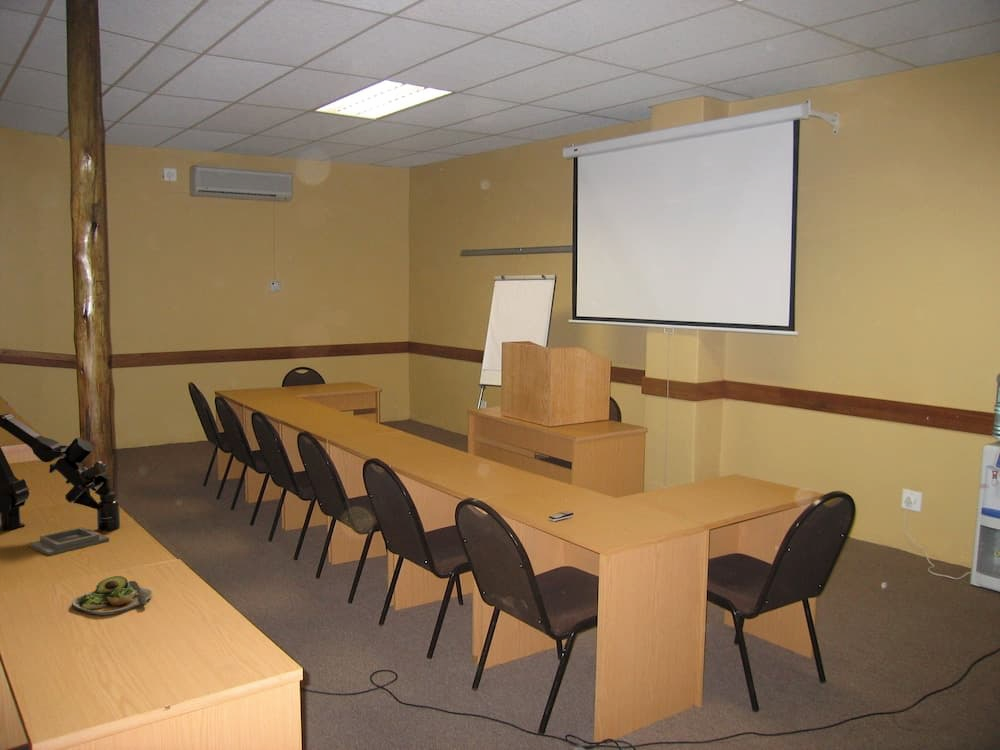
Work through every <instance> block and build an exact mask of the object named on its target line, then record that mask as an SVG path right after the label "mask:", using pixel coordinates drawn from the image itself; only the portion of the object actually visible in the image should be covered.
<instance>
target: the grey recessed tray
mask: <svg viewBox="0 0 1000 750" xmlns="http://www.w3.org/2000/svg"><path fill="white" fill-rule="evenodd" d="M106 542H110V537H108V536H106V535H104V534H101V532H97V531H94V530H92V529H87V528H84V527H82V526H81V527H80V526H79V527H76V528H72V529H71V528H70V529H67V530H63V531H59V532H54V533H49V534H45V535H42V536H39V540H37V541H33V542H29V547H31V548H33V549H35V550H37V551H38V552H40V553H43V554H45V555H47V556H53V555H57V554H62V553H65V552H69V551H70V552H71V551H74V550H78V549H81V548H85V547H90V546H94V545H98V544H101V543H106Z"/></svg>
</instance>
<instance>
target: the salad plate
mask: <svg viewBox="0 0 1000 750" xmlns="http://www.w3.org/2000/svg"><path fill="white" fill-rule="evenodd" d="M95 587H96V588H95V590H94V591H91V592H87V593H84V594H81V595H78V596H76V597H75V598H74V599H72V601H71V606H72V607H73V609H75V610H76V611H78V612H83V613H86V614H92V615H97V616H111V615H118V614H121V613H124V612H127V611H129V610H132V609H135V608H138V607H140V606H144V605H148V600H149V599H151V597H152V595H153V591H152V589H148V588H145V587H141V586H139V584H138V582H137V581H136V580H129V581H128V579H127V578H126V577H124V576H121V575H115V576H110V577H107V578H104V579H102V580H101V581H99V582H98V584H97V585H96V586H95ZM102 608H116V609H110V610H97V609H102Z"/></svg>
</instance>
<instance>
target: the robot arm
mask: <svg viewBox="0 0 1000 750" xmlns="http://www.w3.org/2000/svg"><path fill="white" fill-rule="evenodd" d="M0 428H2V429H3V430H5V431H6V432H8V433H9V434H10V435H12V436H13V437H15V438H16V439H17V440H18V441H21V442H22V443H24V444H25V445H26V446H28V447H29V448H30V449H31V450H32V453H33V455H35V456H36V457H37V458H38V459H39V460H40V461H41V462H44V463H51V462H53V461H55V462H54V463H51V464H49V472H48V473H49V474H52V473H55V472H58V473H59V474H60V475H61V476H62V477H63V478H64V479H65V480H66V481H65V483H66V484H67V485H69V484H71V485H72V488H71V489H69V491H68V492H66V494H65V500H66V501H67V502H68V503H69V504H71V503H73V504H77V505H80V506H85V507H88V508H91V509H95V510H96V511H97V510H99V509H100V508H101V507H100V505H99V504H98V502H97V501H96V500H95V498H94V497H93V496H92V495H91V491H90V490H92V491H93V492H94V494H96V495H98V496H100V494H101V493H104V492H112V490H111V488H110V481H111V478H112V476H111V475H109V474H108V473H107V470H106V468H107V464H105V463H104V462H103V461H101V460H99V461H97V462H95V463H93V466H91V467H90V468H88V467H86V466H83V467H82V466H81V465H79V464H82V463H84V461H85V460H87V458H88V457H89V456H90V455H91V454H92V453H93V452H94V451H95V447H94V445H93V444H92V443H91V442H90V441H88V440H85V439H82V438H81V437H75V438H74V439H73V440H72V441H71V443H70V444H69V445H63V444H62V443H61V442H58V441H57V440H55V439H53V438H48V437H44V436H42V435H41V434H39V433H38V432H36V431H35V430H33V429H32V428H30V427H29V426H28V425H26V424H24V423H23V422H22V421H20V420H19V419H17V418H16V417H15V416H14V415H13V414H12V413H3V414H2V413H1V414H0ZM63 456H64V457H63ZM29 491H30V488H29V487H28V484H27V482H26V480H25V479H24V478H22V479H19V478H17V477H16V476H15V474H14V472H13V469H12V468H11V466H10V463H9V462H8V460H7V457H6V455H5V453H4V452H3V449H2V447H1V446H0V530H2V531H7V530H12V529H13V530H14V529H17V528H21V527H26V524H25V523H22V522H21V507H24V506H25V505H26V504H25V503H26V502H27V500H28V499H29V496H30V492H29Z"/></svg>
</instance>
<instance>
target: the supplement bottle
mask: <svg viewBox="0 0 1000 750" xmlns="http://www.w3.org/2000/svg"><path fill="white" fill-rule="evenodd" d="M99 500H100V501H98V502H97V503H98V504H99V505H100V507H101V508H100V509H99V510H97V509H96V519H97V520H96V524H97V525H96V527H97V530H98V531H101V532H111V531H116V530H117V529H119V528H120V527H121V515H120V514H121V513H120V511H121V509H120V501H119V500H117V493H116V492H114V491H111V492H104V493H101V494H100V495H99Z"/></svg>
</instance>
